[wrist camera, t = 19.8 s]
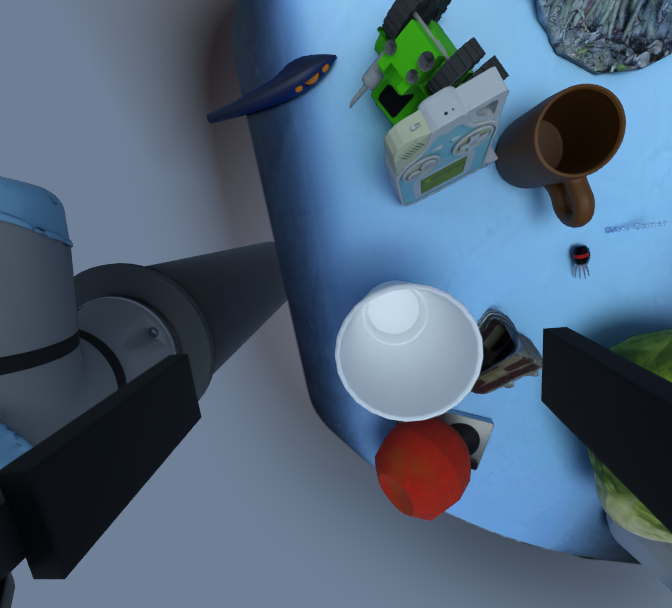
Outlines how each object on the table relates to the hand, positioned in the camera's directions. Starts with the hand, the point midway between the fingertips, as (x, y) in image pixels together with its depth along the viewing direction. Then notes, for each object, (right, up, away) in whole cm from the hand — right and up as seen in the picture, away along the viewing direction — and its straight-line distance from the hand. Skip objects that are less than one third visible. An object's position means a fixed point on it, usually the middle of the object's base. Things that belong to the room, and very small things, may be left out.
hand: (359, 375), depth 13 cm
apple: (+5, -18, +25) cm, 31 cm away
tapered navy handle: (-9, +28, +26) cm, 39 cm away
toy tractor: (+10, +26, +15) cm, 32 cm away
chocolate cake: (+18, -4, +31) cm, 37 cm away
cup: (+6, +2, +31) cm, 32 cm away
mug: (+21, +17, +26) cm, 38 cm away
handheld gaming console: (+7, +17, +11) cm, 22 cm away
